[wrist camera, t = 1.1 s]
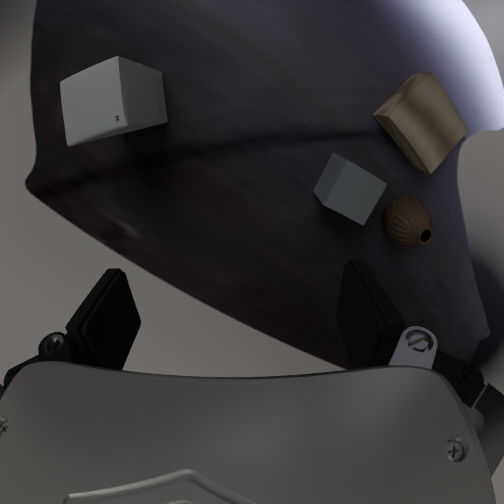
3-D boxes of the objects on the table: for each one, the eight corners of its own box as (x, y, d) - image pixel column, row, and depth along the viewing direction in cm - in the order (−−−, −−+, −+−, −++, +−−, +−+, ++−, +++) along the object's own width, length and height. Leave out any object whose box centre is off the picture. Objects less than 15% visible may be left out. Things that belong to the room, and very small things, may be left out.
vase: (419, 195, 35) (452, 216, 28) (406, 235, 39) (434, 263, 31) (384, 185, 35) (415, 205, 27) (371, 228, 38) (396, 257, 30)
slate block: (332, 152, 33) (347, 159, 28) (368, 173, 34) (387, 184, 29) (312, 191, 36) (323, 205, 30) (348, 209, 37) (363, 225, 32)
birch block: (411, 74, 27) (430, 72, 23) (447, 126, 30) (467, 130, 26) (371, 114, 30) (388, 115, 26) (412, 166, 34) (430, 174, 29)
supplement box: (163, 71, 28) (120, 53, 16) (169, 123, 31) (128, 128, 20) (113, 85, 28) (58, 80, 17) (119, 134, 31) (66, 148, 20)
